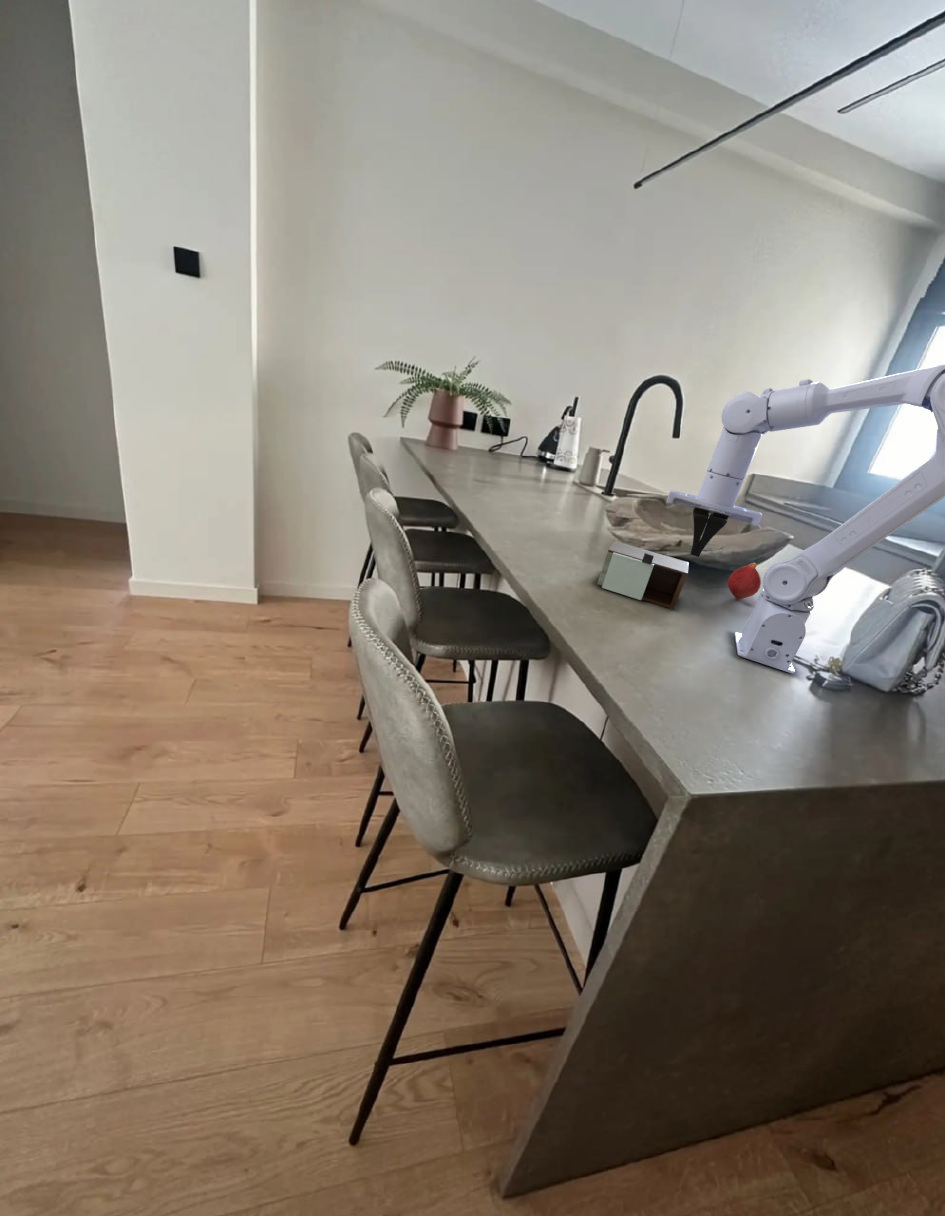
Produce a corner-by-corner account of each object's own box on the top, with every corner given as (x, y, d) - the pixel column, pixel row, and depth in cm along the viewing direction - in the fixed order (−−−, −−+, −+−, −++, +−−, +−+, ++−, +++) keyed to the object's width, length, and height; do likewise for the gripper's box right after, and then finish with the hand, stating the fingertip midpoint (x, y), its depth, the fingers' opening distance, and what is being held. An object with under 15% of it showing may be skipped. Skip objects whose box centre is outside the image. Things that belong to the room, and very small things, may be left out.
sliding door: (640, 601, 93) (656, 556, 90) (601, 588, 95) (615, 544, 92) (641, 599, 94) (657, 555, 91) (602, 586, 96) (616, 543, 93)
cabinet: (673, 610, 93) (687, 574, 90) (596, 585, 97) (608, 550, 94) (675, 596, 100) (688, 562, 97) (603, 574, 104) (614, 540, 101)
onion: (724, 599, 105) (740, 562, 101) (720, 590, 110) (735, 554, 107) (754, 608, 104) (772, 570, 100) (749, 598, 109) (765, 562, 105)
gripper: (770, 483, 86) (737, 561, 91) (679, 462, 89) (653, 537, 95) (776, 488, 79) (740, 571, 85) (679, 465, 83) (650, 546, 89)
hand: (694, 554), depth 89 cm, fingers closed
